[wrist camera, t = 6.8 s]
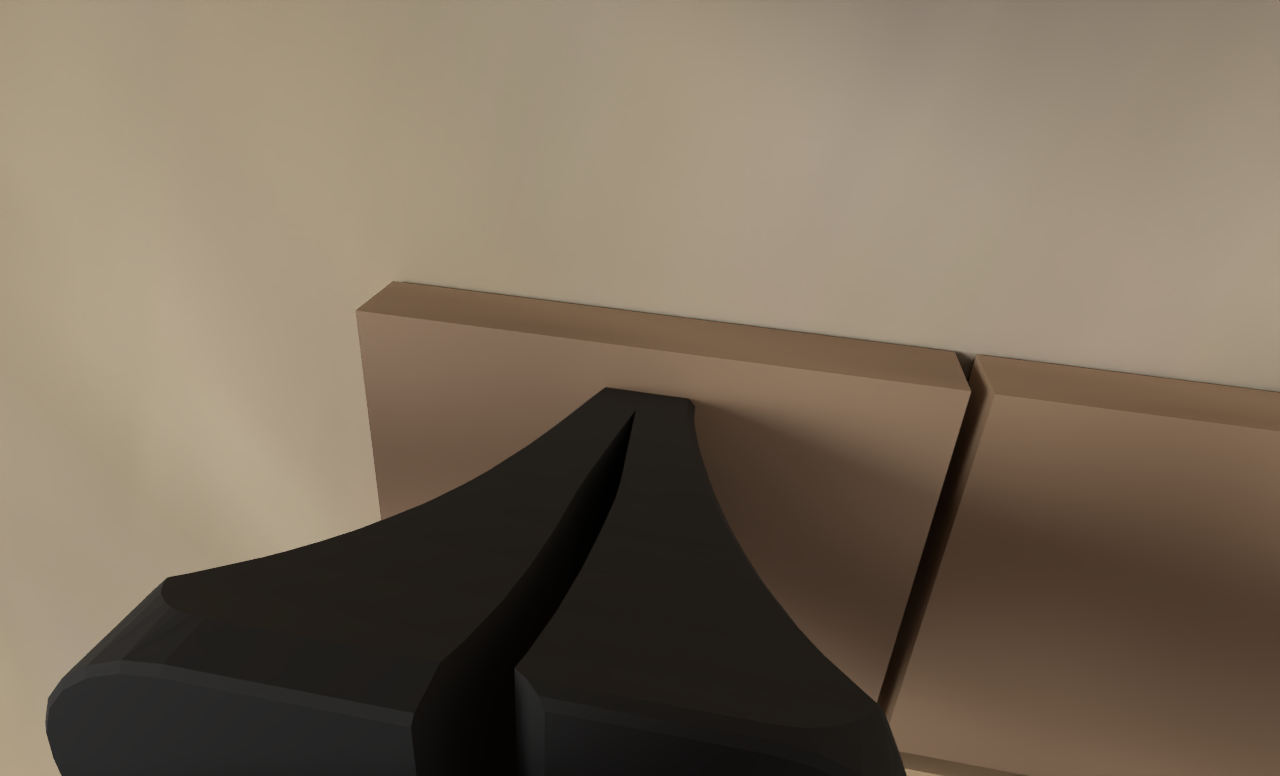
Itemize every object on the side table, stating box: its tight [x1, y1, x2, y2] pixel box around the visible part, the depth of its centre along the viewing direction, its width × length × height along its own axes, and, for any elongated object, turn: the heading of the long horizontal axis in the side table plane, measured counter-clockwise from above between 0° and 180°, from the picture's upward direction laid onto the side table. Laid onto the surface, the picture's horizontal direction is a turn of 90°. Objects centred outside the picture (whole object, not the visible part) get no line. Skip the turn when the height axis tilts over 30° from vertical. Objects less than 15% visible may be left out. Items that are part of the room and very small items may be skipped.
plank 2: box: [877, 355, 1280, 776], centre depth 12 cm, size 7×8×1 cm
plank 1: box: [356, 281, 971, 703], centre depth 13 cm, size 7×8×1 cm
